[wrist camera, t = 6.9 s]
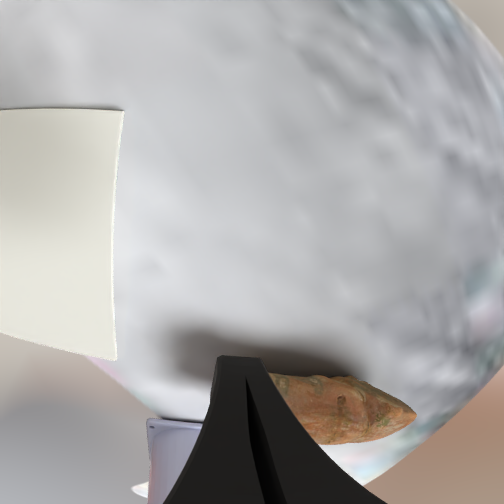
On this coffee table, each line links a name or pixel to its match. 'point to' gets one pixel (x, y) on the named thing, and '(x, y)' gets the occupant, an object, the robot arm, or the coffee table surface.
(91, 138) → the felt mat
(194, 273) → the coffee table surface
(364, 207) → the coffee table surface
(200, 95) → the coffee table surface
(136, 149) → the coffee table surface
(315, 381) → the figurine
